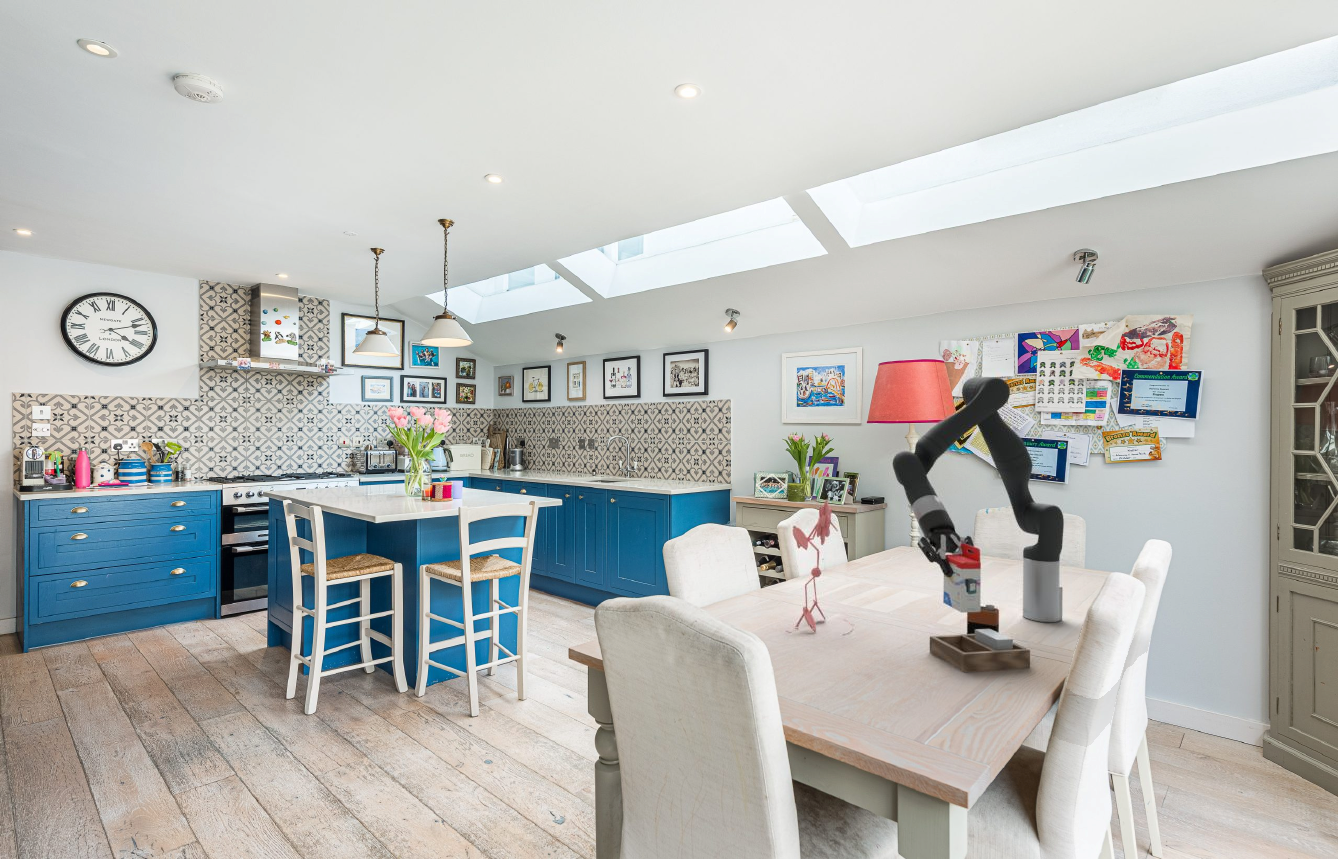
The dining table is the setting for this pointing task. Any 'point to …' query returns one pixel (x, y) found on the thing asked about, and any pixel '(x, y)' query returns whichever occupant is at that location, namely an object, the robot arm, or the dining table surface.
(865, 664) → the dining table surface
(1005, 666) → the slot rack
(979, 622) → the battery
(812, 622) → the figurine
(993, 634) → the grey block
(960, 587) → the ink box
